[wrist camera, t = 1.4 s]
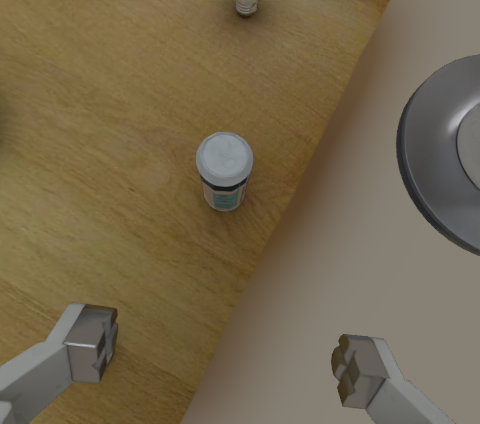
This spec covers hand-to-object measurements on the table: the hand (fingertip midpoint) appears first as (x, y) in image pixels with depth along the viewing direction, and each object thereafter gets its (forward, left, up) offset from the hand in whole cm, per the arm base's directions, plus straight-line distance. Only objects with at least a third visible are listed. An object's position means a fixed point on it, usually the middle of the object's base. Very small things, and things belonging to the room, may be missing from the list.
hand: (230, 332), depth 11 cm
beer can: (0, -11, -24) cm, 27 cm away
